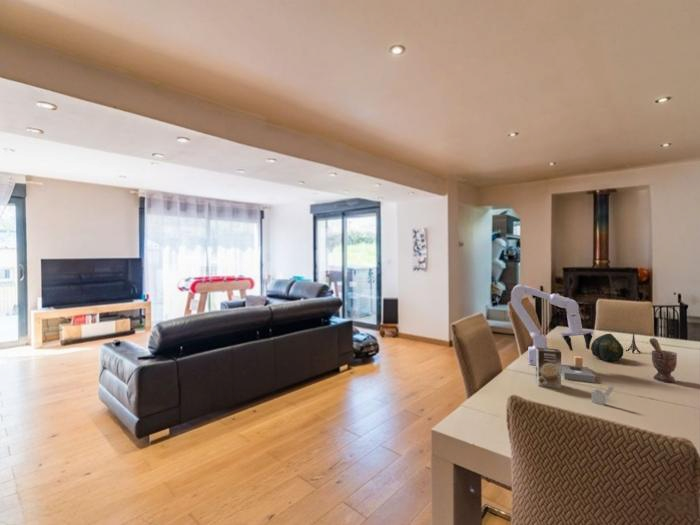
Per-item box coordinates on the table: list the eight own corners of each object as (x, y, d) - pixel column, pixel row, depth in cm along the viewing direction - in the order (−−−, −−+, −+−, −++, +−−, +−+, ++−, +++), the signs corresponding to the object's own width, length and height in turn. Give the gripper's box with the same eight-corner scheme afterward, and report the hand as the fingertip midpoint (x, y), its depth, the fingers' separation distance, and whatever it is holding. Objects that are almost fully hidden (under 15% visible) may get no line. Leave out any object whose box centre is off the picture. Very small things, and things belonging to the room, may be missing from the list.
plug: (575, 369, 175) (575, 357, 175) (573, 367, 179) (573, 355, 179) (582, 370, 174) (582, 358, 174) (580, 368, 178) (580, 356, 178)
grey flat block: (564, 379, 162) (564, 372, 162) (559, 370, 175) (559, 363, 175) (595, 382, 157) (595, 375, 157) (587, 373, 170) (587, 366, 170)
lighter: (591, 402, 136) (591, 382, 136) (592, 400, 138) (592, 380, 137) (613, 407, 131) (613, 386, 131) (614, 406, 132) (614, 385, 132)
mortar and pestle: (671, 386, 152) (671, 341, 151) (646, 380, 159) (646, 337, 159) (679, 381, 158) (679, 337, 158) (655, 375, 165) (655, 334, 165)
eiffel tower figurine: (651, 353, 204) (651, 331, 204) (649, 357, 197) (649, 334, 197) (620, 348, 215) (619, 327, 215) (616, 352, 208) (616, 330, 208)
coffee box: (538, 386, 153) (537, 350, 153) (535, 381, 159) (535, 347, 159) (561, 388, 150) (561, 352, 150) (558, 383, 156) (557, 348, 156)
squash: (589, 351, 189) (610, 332, 186) (582, 345, 203) (602, 327, 199) (612, 370, 185) (635, 351, 181) (604, 363, 199) (625, 345, 195)
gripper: (561, 325, 175) (566, 352, 174) (593, 322, 171) (599, 350, 171) (557, 323, 182) (561, 349, 181) (588, 320, 178) (593, 346, 177)
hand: (579, 349), depth 176 cm, fingers open, 7 cm apart
